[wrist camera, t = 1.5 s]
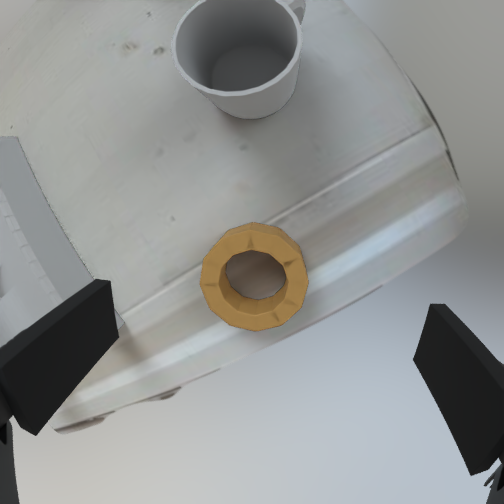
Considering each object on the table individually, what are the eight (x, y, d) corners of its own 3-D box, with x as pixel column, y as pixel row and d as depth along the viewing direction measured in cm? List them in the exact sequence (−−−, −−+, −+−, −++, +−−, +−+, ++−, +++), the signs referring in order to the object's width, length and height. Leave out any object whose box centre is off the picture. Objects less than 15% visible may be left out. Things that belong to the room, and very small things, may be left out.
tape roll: (315, 235, 25) (319, 245, 22) (291, 321, 27) (291, 339, 24) (217, 214, 25) (209, 220, 22) (203, 302, 28) (194, 317, 25)
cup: (190, 90, 22) (146, 58, 14) (263, 7, 20) (253, -51, 11) (259, 138, 23) (247, 122, 15) (333, 51, 20) (355, 1, 12)
